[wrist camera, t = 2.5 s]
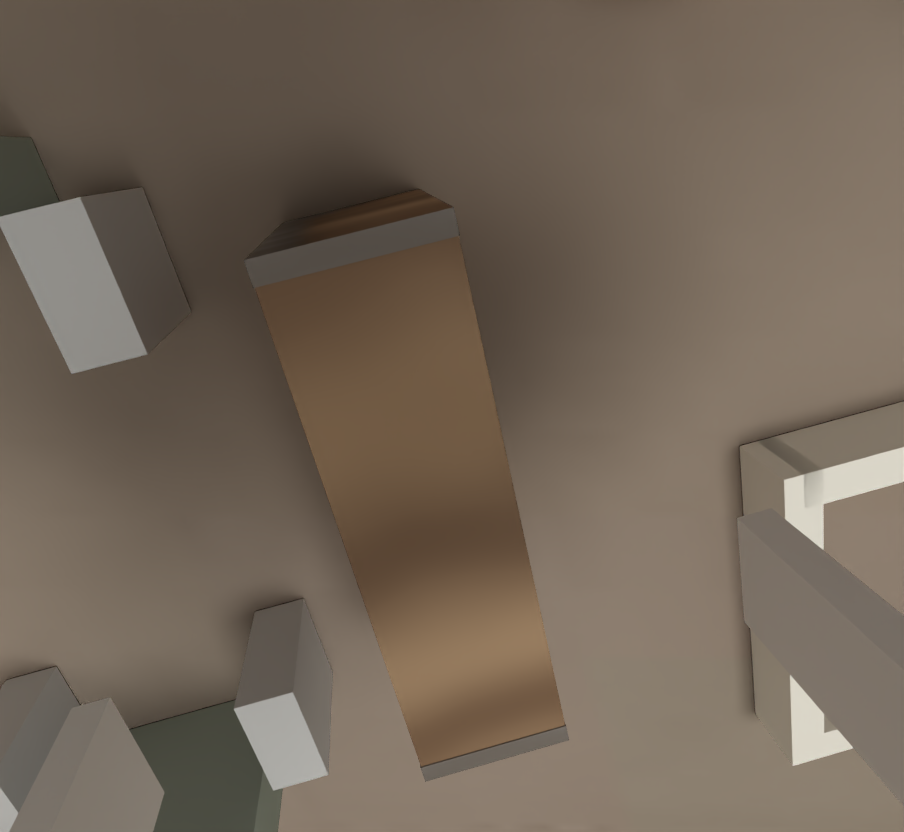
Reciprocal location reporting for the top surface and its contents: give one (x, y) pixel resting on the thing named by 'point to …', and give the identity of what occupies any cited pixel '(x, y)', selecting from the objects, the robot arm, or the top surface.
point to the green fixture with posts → (273, 629)
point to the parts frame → (801, 503)
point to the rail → (415, 469)
